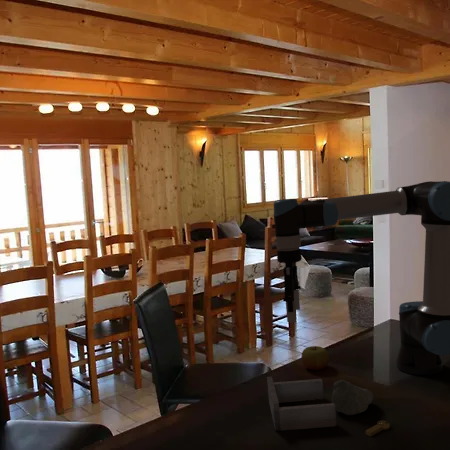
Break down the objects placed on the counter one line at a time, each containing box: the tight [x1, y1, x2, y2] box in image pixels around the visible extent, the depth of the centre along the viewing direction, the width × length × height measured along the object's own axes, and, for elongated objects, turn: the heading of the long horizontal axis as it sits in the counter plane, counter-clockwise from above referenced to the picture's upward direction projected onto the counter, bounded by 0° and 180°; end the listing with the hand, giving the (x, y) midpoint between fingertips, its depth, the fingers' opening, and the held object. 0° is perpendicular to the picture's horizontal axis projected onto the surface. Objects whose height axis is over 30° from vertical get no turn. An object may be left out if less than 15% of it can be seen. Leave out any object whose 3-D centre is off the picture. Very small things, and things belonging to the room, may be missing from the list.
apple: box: [301, 345, 330, 371], centre depth 185 cm, size 10×10×8 cm
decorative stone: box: [331, 379, 374, 416], centre depth 151 cm, size 13×11×10 cm
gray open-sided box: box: [266, 376, 337, 432], centre depth 151 cm, size 17×19×8 cm
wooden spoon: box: [365, 420, 390, 437], centre depth 138 cm, size 8×3×1 cm, turn 126°
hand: (293, 315), depth 161 cm, fingers open, 13 cm apart
